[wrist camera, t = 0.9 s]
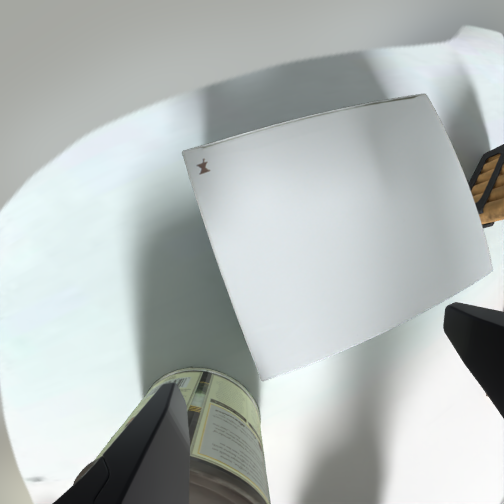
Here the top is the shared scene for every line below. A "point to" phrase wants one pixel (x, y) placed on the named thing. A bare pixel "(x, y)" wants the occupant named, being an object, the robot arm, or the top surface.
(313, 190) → the supplement box
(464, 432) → the top surface
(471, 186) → the ammunition clip
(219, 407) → the coffee can
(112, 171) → the top surface
